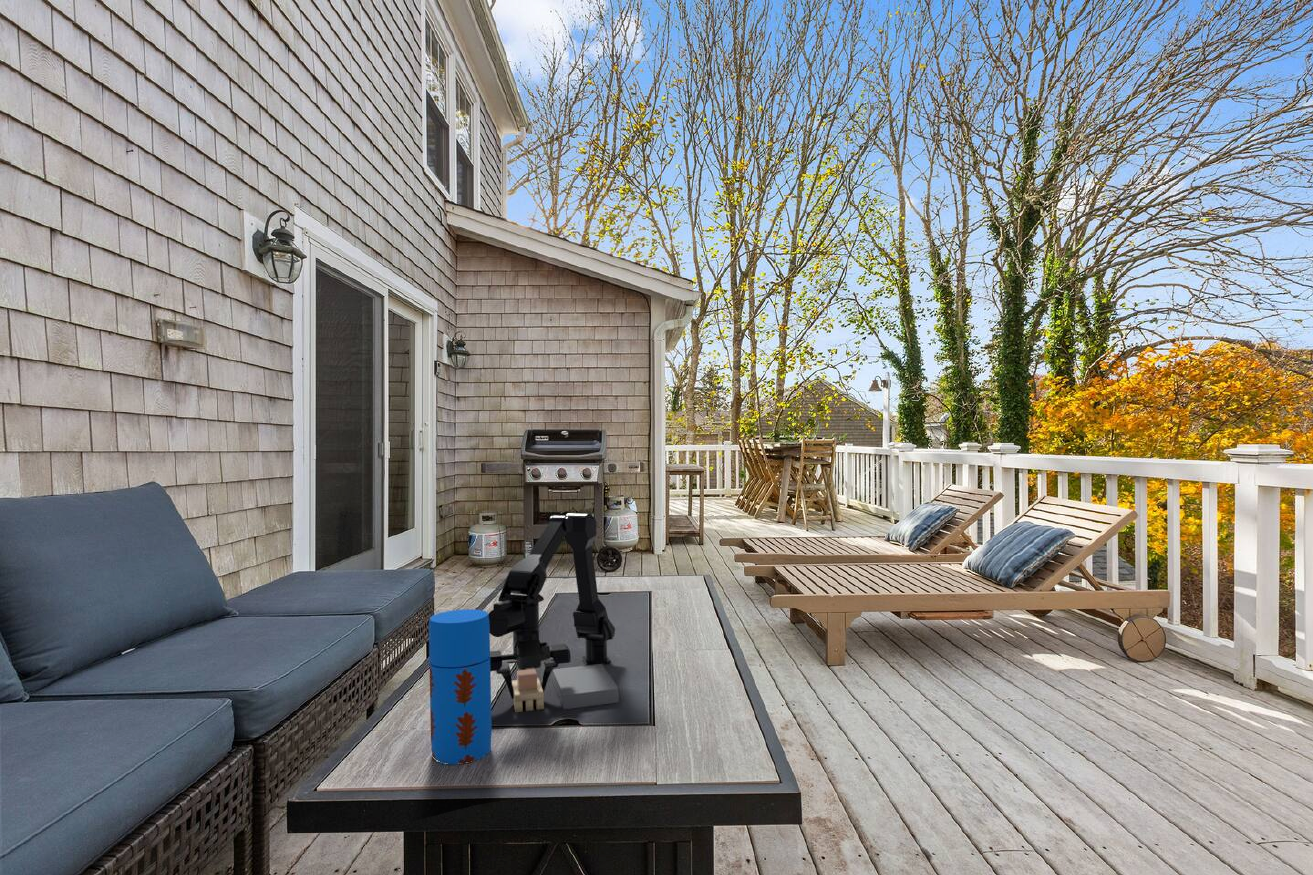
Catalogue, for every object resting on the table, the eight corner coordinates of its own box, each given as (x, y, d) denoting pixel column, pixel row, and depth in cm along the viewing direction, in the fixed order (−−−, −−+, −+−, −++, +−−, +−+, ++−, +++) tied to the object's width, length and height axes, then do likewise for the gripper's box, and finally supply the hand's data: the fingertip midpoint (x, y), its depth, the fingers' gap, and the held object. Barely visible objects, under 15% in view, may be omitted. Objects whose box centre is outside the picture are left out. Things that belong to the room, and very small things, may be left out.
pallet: (511, 696, 153) (511, 680, 153) (538, 692, 155) (538, 677, 155) (515, 712, 144) (515, 695, 144) (543, 708, 145) (543, 692, 145)
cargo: (517, 684, 151) (516, 670, 151) (535, 682, 152) (534, 668, 152) (518, 690, 147) (518, 676, 147) (537, 688, 148) (536, 674, 148)
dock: (552, 682, 162) (552, 669, 162) (602, 676, 165) (601, 663, 165) (563, 709, 145) (563, 695, 145) (618, 702, 148) (618, 688, 148)
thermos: (436, 770, 118) (433, 626, 118) (426, 747, 128) (424, 613, 128) (498, 756, 123) (495, 618, 123) (484, 734, 133) (482, 606, 133)
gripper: (483, 639, 139) (484, 715, 139) (573, 630, 145) (575, 704, 144) (481, 625, 150) (483, 696, 150) (566, 618, 155) (567, 686, 155)
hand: (527, 696), depth 149 cm, fingers closed on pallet, 6 cm apart
